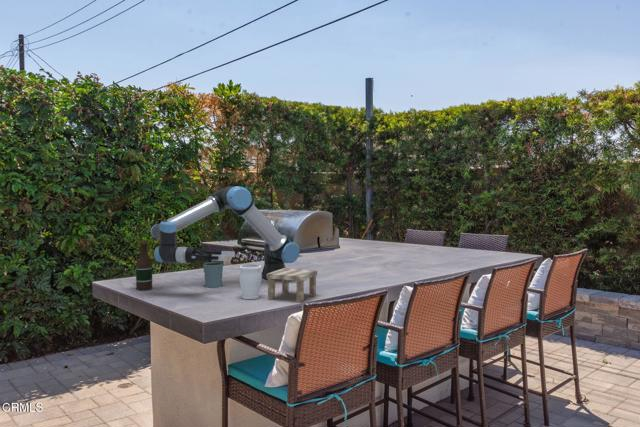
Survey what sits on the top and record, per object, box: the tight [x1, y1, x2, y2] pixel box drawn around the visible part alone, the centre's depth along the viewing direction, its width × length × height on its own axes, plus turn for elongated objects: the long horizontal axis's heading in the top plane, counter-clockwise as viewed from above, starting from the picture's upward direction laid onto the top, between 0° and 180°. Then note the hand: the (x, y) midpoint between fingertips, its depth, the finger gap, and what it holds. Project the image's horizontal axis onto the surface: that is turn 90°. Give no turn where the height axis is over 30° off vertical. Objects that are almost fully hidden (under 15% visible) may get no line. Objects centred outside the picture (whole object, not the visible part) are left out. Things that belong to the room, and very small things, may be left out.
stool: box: [267, 267, 318, 304], centre depth 230 cm, size 18×18×12 cm
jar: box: [239, 264, 263, 300], centre depth 229 cm, size 11×10×15 cm
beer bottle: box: [135, 241, 153, 292], centre depth 248 cm, size 8×8×24 cm
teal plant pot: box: [202, 261, 224, 289], centre depth 256 cm, size 10×10×12 cm
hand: (230, 256), depth 230 cm, fingers open, 13 cm apart
